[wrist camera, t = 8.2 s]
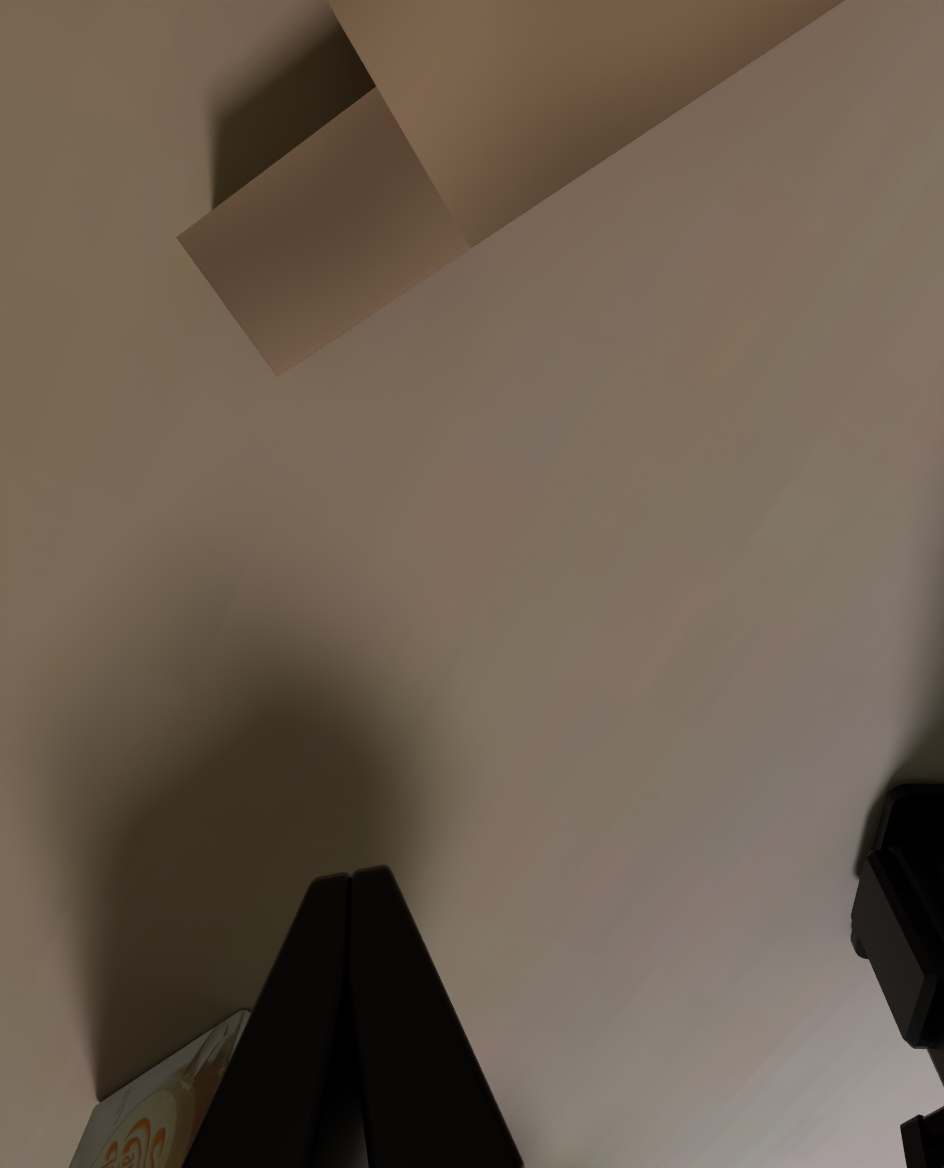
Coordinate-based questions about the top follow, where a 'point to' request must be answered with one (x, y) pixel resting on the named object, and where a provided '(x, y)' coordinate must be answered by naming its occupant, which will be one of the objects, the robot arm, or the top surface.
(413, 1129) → the robot arm
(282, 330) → the trap runway
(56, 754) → the top surface
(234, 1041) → the coffee box
